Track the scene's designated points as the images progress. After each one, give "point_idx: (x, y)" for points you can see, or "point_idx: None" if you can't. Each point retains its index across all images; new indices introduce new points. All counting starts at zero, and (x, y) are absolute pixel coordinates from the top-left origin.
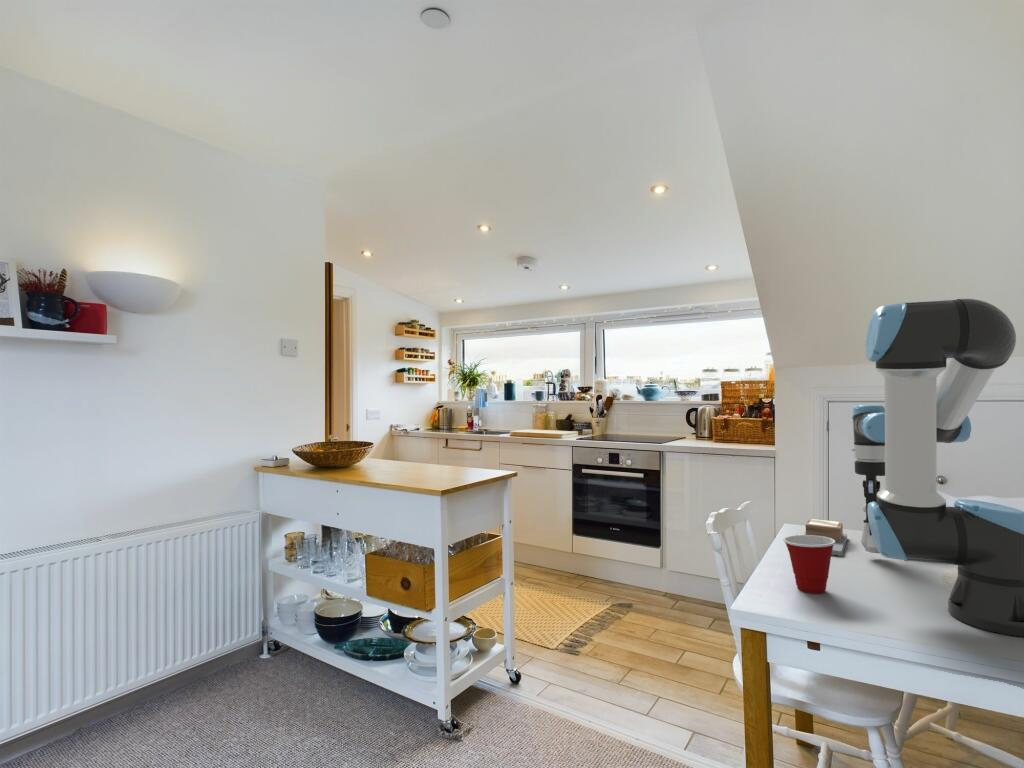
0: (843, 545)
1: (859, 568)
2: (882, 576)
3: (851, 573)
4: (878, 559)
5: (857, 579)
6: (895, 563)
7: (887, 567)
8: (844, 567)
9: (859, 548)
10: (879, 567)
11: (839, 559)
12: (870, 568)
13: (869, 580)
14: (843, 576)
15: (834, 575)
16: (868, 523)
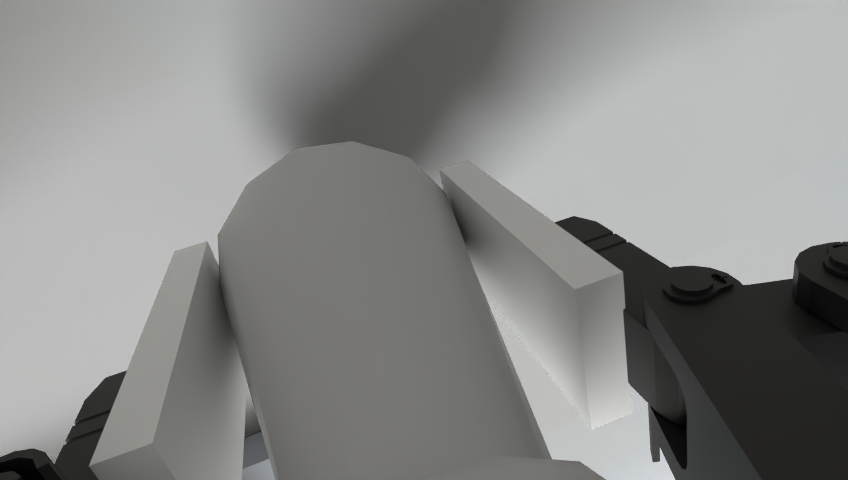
0: (246, 463)
1: (634, 181)
2: (726, 15)
3: (755, 173)
4: None
5: (844, 107)
6: (317, 40)
7: (489, 54)
8: (663, 246)
9: (72, 405)
10: (529, 98)
11: (514, 338)
12: (592, 134)
13: (835, 51)
14: (824, 179)
15: (827, 216)
16: (624, 385)
